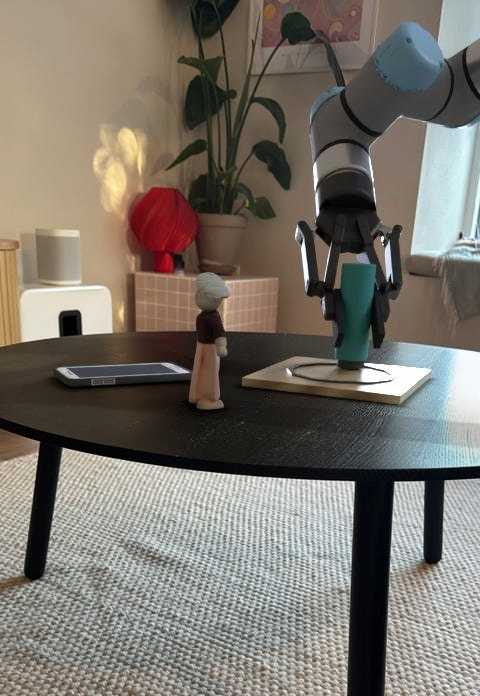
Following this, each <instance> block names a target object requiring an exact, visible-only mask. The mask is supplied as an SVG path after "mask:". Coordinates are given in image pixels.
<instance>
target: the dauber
mask: <svg viewBox="0 0 480 696" xmlns="http://www.w3.org/2000/svg"><path fill="white" fill-rule="evenodd" d="M375 274H376V264H364V263H361V262H341V273H340V284H339V288H340V289H341V296H342V307H343V317H344V328H345V335H344V338H343V341H342V344H341V348H334V359H335V360H337V364H336V366H337V367H340V368H345V369H362V368H364V363H366V361H367V360H368V358H369V357H368V355H369V346H370V335H371V316H372V306H373V295H374V285H375Z"/></svg>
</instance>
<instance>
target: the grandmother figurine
mask: <svg viewBox="0 0 480 696" xmlns="http://www.w3.org/2000/svg"><path fill="white" fill-rule="evenodd" d="M195 286H196V288H197V289H196V291H195V294H194V301H195V305H196V306H197V308H198V309H200V310H201V312H199V313H198V314H197V315H196V318H195V332H196V348H195V355H194V361H193V366H192V367H193V368H192V378H191V380H190V385H189V386H190V387H189V395H188V402H189V403H191V404H196V408H197V409H199V410H206V411H208V410H217V409H224V407H225V405H224V403H223V401H222V400H220V395H221V393H220V392H221V391H220V390H221V389H220V379H219V370H220V362H221V361H220V360H221V358H226V356H227V355H228V349H227V345H228V343H227V340H228V335H227V333H226V330H225V327H224V324H223V321H222V318H221V314H220V312H219V310H218V308H220V306H221V304H222V302H223V300H224V299H225V300H226V299H228V298H230V296H231V292H230V291H229V288H228V287H227V285H226V283H225V281H224V280H223V278H221V277H220V276H219V275H218V274H217V273H214V272H211V271H210V272H209V271H208V272H202V273H199V274H198V275H197V276H196V279H195Z"/></svg>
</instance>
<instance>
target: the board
mask: <svg viewBox="0 0 480 696" xmlns="http://www.w3.org/2000/svg"><path fill="white" fill-rule="evenodd" d="M336 364H337V359H330V358H329V359H328V358H318V357H307V356H299V355H295V356H292V357H290V358H288V359H285V360H282V361H280V362H277V363H275V364H273V365H270V366H267V367H265V368H262V369H260V370H257V371H255V372H253V373H252V372H251V373H250V374H246V375H245V376H242V377H241V386H242V387H246V388H247V387H248V388H253V389H254V388H255V389H263V390H264V389H265V390H273V391H280V392H289V393H298V394H305V395H312V396H313V395H314V396H323V397H329V398H330V397H331V398H340V399H347V400H356V401H363V402H365V401H366V402H371V403H372V402H373V403H380V404H382V403H383V404H390V405H397V406H398V405H401V404H402V403H403V402H405V401H406V400H407V399H408V398H409V397H410V396H411V395H412V394H413V393H415V392H416V391H417V390H418V389H419V388H420V387H422V386H423V384H425V383H426V382H428V380H429V379H430V378H431V375H432V369H429V368H428V369H427V368H418V367H417V368H416V367H406V366H399V365H387V364H377V363H367V362H365V363H364V368H362V369H345V368H340V367H337V366H336Z"/></svg>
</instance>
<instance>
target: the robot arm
mask: <svg viewBox="0 0 480 696" xmlns="http://www.w3.org/2000/svg"><path fill="white" fill-rule="evenodd" d="M399 118H403V119H407V120H412V121H418V122H423V123H428V124H432V125H435V126H440V127H442V128H446V129H467V128H471V127H473V126H476V125H477V124H478V123H479V122H480V37H478V38H477V39H476V40H475V41H473V42H472V43H470V44H469V45H467V46H465V47H464V48H462V49H461V50H460V51H458V52H457V53H455V54H454V55H452V56H450V57H447V58H445V57H444V53H443V50H442V49H441V46H440V45H439V43H438V42H437V40H436V39H435V38H434V36H433V35H432V34H431V33H430V32H429V31H428V30H427V29H424V28H423V27H422V26H421V25H420V24H419V23H417V22H414V21H404V22H402V23H400V24H399V25H398V26H397V27H395V28H394V30H393V31H392V32H391V33H390V34H389V35H388V36H387V37H386V38H385V40H382V41H381V42H380V43H379V44H378V45H377V47H376V48H375V50H374V51H373V52H372V54H371V55H370V56H369V58H367V60H366V61H365V62H364V64H363V65H362V66H361V67H360V68H359V70H358V71H357V72H356V73H355V74H354V76H353V77H351V79H350V81H348V83H347V84H346V86H335V87H332V88H331V89H329V90H327V91H325V92H322V93H320V94H319V96H317V98H316V99H315V101H314V102H313V104H312V106H311V108H310V113H309V128H308V129H309V130H308V137H309V142H310V147H311V157H312V167H313V168H312V169H313V181H314V194H315V208H316V209H315V210H316V218H315V220H314V221H313V222H310V223H308V222H307V221H305V220H299V221H298V222H297V226H296V230H295V237H294V239H295V242H296V244H297V245H298V247H299V249H300V250H301V251H300V253H301V262H302V270H303V278H304V288H305V294H306V296H307V297H309V298H314V297H318V298H319V304H320V305H322V317H323V319H324V321H329V322H331V327H332V328H331V329H332V339H333V340H332V341H333V348H334V349H335V348H341V344H342V341H343V338H344V335H345V328H344V317H343V307H342V296H341V289H340V287H338V288H337V287H336V288H335V283H336V279H337V278H336V277H337V272H338V266H339V262H340V261H339V260H340V255H341V254H346V253H350V254H354V255H355V256H356V260H357V261H358V262H357V263H364V264H376V274H375V285H374V295H373V306H372V316H371V326H370V331H371V337H372V347H373V349H374V350H377V349H378V350H380V349H381V347H382V344H383V341H384V340H385V337H386V328H385V323H387V322H388V319H389V316H390V314H391V306H390V300H391V301H394V300H397V299H398V297H399V295H400V292H401V290H402V287H403V285H404V281H403V280H404V279H403V270H402V269H403V267H402V258H401V257H402V256H401V247H400V238H401V235H402V233H403V231H404V230H403V229H404V228H403V226H402V225H401V224H394V225H393V227H389V226H386V225H383V222H382V220H381V218H380V217H379V216H378V213H377V212H378V211H377V202H376V194H375V193H376V192H375V187H374V177H373V169H372V162H371V153H370V149H371V147H372V145H373V144H375V142H377V140H379V138H380V137H382V136H383V135H384V134H385V133H386V132H387V131H388V130H389V129H390V128H391V127H392V125H394V124H395V122H396V121H397V120H398V119H399ZM316 235H317V237H319V239H320V240H321V241H323V243H325V245H326V246H328V254H327V261H326V267H325V273H324V278H323V280H321V279H320V276H319V275H320V274H319V268H318V261H317V260H318V259H317V253H316V252H317V251H316V244H315V238H316ZM378 237H380V238H381V243H382V247H383V248H385V249H384V262H385V273H384V270H383V267H382V264H381V262H380V259H379V256H378V254H377V251H376V249H375V240H376V239H377V238H378Z"/></svg>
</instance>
